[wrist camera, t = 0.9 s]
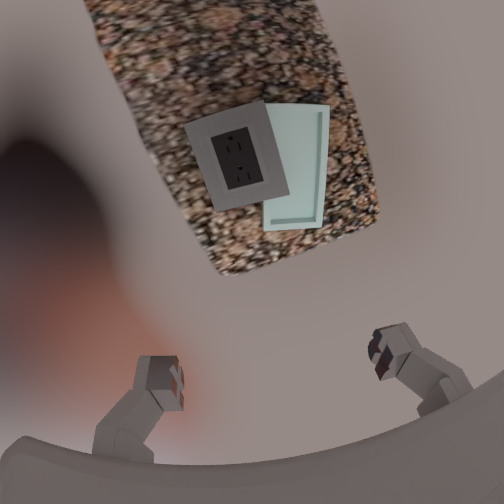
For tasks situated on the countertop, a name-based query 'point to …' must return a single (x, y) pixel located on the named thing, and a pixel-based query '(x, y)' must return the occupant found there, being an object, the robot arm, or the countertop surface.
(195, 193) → the countertop surface
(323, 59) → the countertop surface
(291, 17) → the countertop surface
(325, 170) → the parts tray
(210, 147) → the electrical outlet
